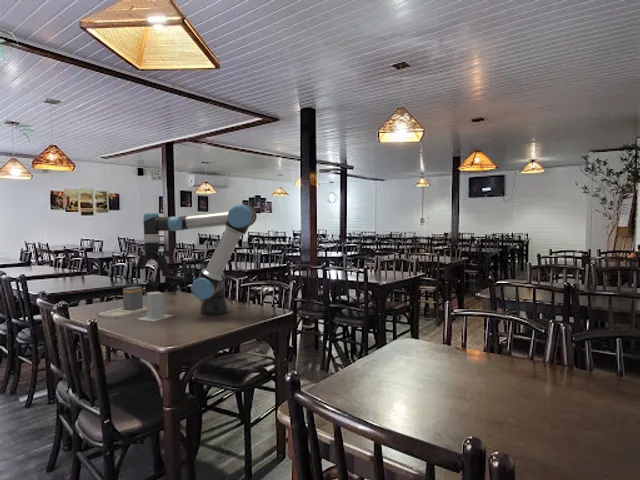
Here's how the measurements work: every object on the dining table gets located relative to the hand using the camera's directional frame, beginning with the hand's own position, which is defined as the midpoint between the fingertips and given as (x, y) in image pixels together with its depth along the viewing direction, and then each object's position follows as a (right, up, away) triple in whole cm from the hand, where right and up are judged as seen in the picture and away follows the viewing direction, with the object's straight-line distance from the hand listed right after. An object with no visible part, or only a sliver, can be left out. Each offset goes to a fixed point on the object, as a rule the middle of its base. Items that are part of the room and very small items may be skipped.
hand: (152, 281), depth 224 cm
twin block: (-17, -18, +15) cm, 29 cm away
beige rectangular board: (-19, -19, +9) cm, 28 cm away
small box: (+1, -19, -1) cm, 19 cm away
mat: (+1, -19, -1) cm, 19 cm away
